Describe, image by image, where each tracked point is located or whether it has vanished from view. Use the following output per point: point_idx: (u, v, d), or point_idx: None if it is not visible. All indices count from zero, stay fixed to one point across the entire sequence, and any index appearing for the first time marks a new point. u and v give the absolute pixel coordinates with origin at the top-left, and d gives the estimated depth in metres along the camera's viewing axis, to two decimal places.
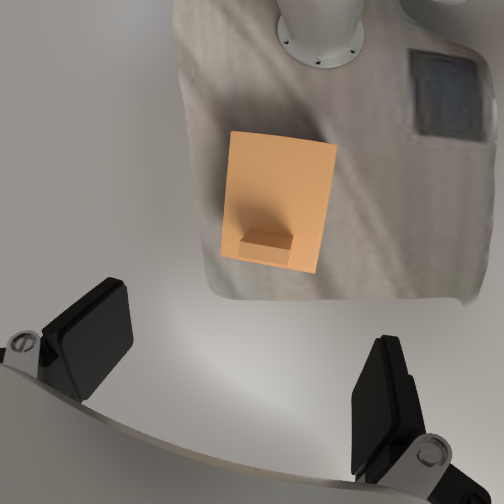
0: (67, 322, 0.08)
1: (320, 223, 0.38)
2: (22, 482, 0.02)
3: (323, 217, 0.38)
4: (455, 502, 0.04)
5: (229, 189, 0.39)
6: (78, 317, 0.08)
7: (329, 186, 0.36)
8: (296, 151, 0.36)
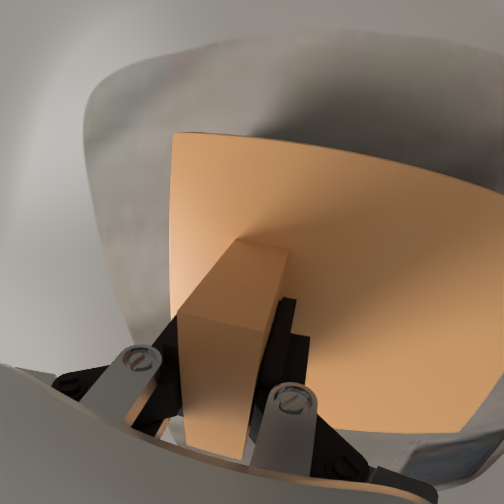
0: None
1: None
2: (22, 482, 0.02)
3: None
4: (318, 476, 0.05)
5: (439, 189, 0.09)
6: None
7: (387, 430, 0.13)
8: (480, 376, 0.11)
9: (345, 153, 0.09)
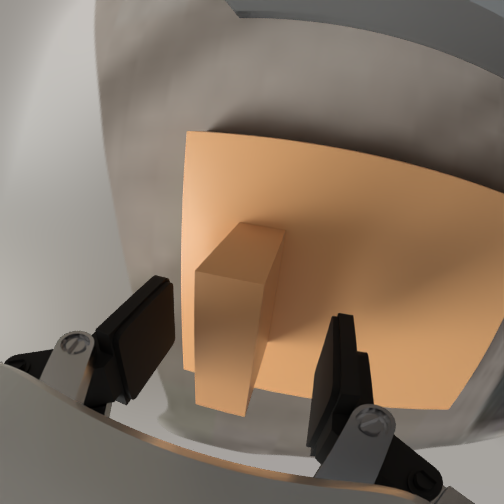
0: (122, 321, 0.08)
1: (301, 390, 0.16)
2: (22, 482, 0.02)
3: None
4: (399, 484, 0.05)
5: (414, 178, 0.11)
6: (132, 315, 0.09)
7: (379, 404, 0.15)
8: (465, 352, 0.13)
9: (332, 148, 0.11)
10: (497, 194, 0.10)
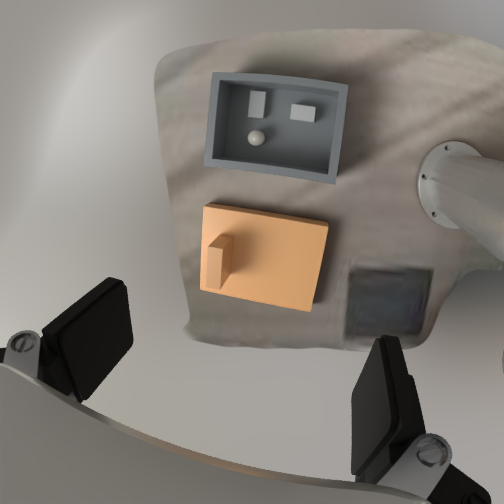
0: (66, 322, 0.08)
1: (244, 295, 0.46)
2: (22, 482, 0.02)
3: (249, 298, 0.46)
4: (455, 502, 0.04)
5: (270, 220, 0.41)
6: (78, 317, 0.08)
7: (275, 304, 0.45)
8: (305, 281, 0.43)
9: (245, 213, 0.41)
10: (303, 223, 0.40)
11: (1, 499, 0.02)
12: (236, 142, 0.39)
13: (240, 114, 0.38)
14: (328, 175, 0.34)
